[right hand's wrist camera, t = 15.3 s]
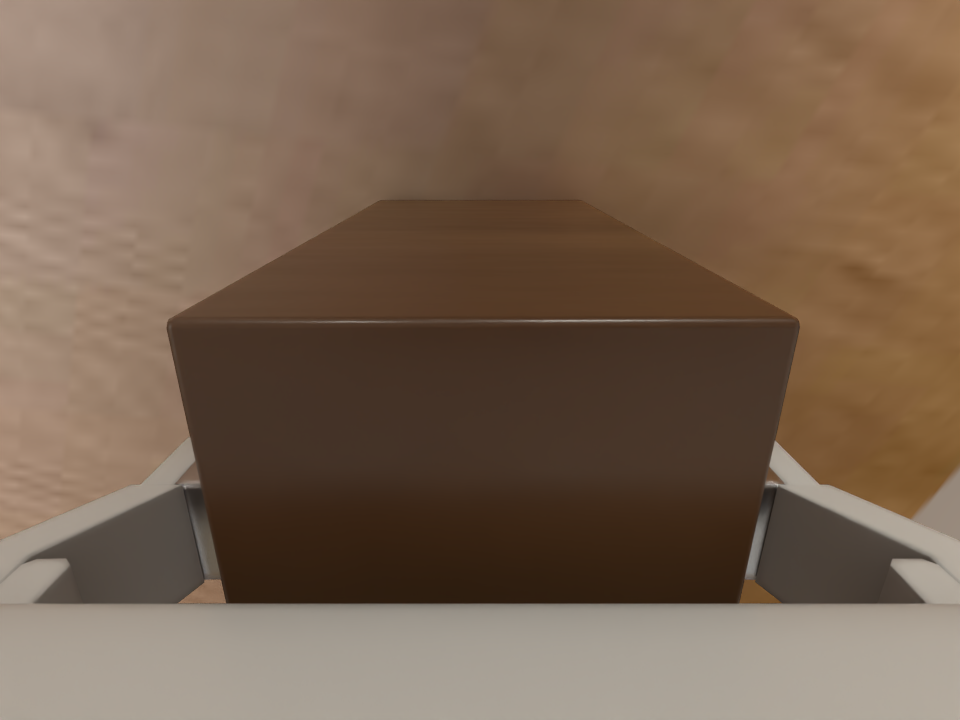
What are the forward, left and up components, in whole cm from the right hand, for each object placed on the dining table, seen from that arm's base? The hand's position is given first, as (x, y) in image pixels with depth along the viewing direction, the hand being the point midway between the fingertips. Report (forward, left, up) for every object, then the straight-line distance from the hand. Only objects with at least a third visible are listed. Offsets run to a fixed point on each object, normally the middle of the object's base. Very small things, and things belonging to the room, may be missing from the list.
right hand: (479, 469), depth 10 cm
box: (0, +6, -8) cm, 10 cm away
